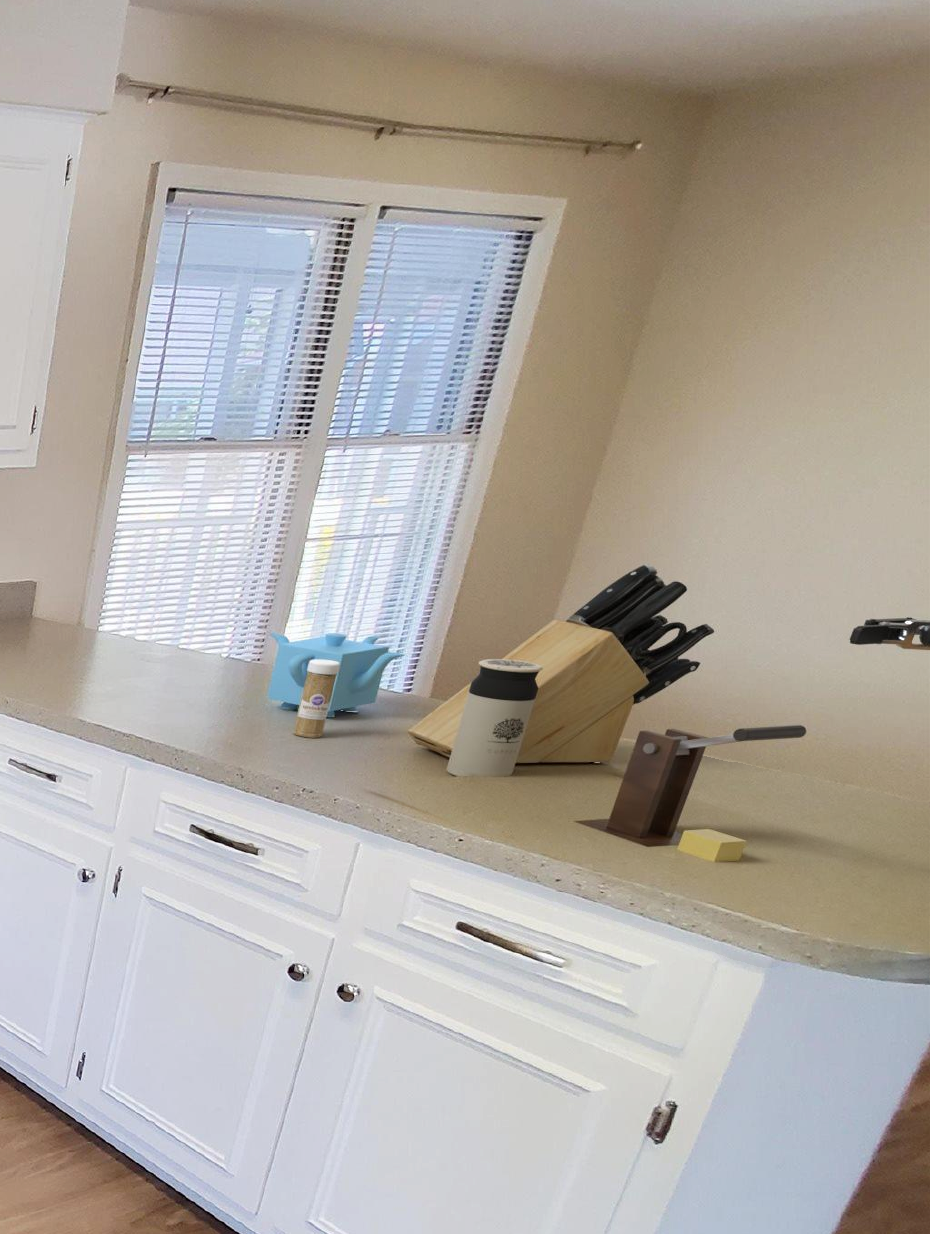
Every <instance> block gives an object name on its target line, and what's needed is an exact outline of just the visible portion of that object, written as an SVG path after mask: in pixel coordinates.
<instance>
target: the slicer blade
mask: <svg viewBox="0 0 930 1234" xmlns="http://www.w3.org/2000/svg"><path fill="white" fill-rule="evenodd" d="M806 734H807V729H806V727H805V726H803V725H802V724H793V725H792V724H791V725H776V726H760V727H757V726H756V727H741V728H737V729H735V730H734V731H733V733H730V734H723V735H717V736H710V737H709V738H702V739H695V740H688V738H687V736H682V737H674V738H678V739H681V742H680V744H679V747H678V750H677V753H676V756H681V755H689V754H690V753H689V749H691V748H698V747H705V746H706V747H711V746H717V745H718V746H719V745H727V744H733V743H740V742H753V741H768V740H769V741H771V740H786V739H787V740H788V739H801V738H803V737H804V736H806Z"/></svg>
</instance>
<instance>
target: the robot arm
mask: <svg viewBox="0 0 930 1234" xmlns="http://www.w3.org/2000/svg"><path fill="white" fill-rule="evenodd" d="M915 636H919V642H920V643H913V639H914V637H915ZM849 643H850V644H851V645H856V646H857V645H858V646H860V645H862V646H863V645H882V644H883V645H884V644H885V645H895V646H897V647H898V648H901V649H903V650H917V651H919V650H920V651H930V619H916V618H913V617H909V616H908V617H898V618H878V619H877V618H870V619H865V621H864V623H863V625H857V626H856V627H854V628H853V630H852V632H851V635H850V638H849Z"/></svg>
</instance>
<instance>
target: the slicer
mask: <svg viewBox="0 0 930 1234" xmlns="http://www.w3.org/2000/svg"><path fill="white" fill-rule="evenodd" d="M682 736H687V738H688V740H695V739H702V738H709V737H708V736H705V735H701V734H696V733H693V732H689V731H684V730H680V729H675V728H667V729H666V730H665V733H664V734H662V733H658V732H654V731H650V730H639V732H638V735H637V738H636V741H635V744H634V746H633V749H632V752H631V755H630V758H629V761H628V764H627V767H626V770H625V773H624V775H623V778H622V780H621V783H620V786H619V789H618V793H617V795H616V798H615V801H614V804H613V807H612V810H611V813H610V816H609V818H601V819H585V820H584V819H583V820H573V822H574V823H577V824H579V825H583V826H585V827H588V828H591V829H594V830H597V831H599V832H603V833H606V834H607V835H608V834H609V835H612V836H614V837H617V838H620V839H623V840H626V841H629V842H631V843H635V844H636V845H639V846H643V847H645V848H651V847H652V848H654V847H668V846H679V843H680V840H681V838H682V835H683V833H681V832H678V831H676V829H677V827H678V824H679V821H680V818H681V815H682V813H683V811H684V808H685V804H686V802H687V799H688V798H689V797H688V796H689V793H690V791H691V788H692V786H693V784H694V780H695V778H696V775H697V773H698V769H699V768H700V767H699V766H700V764H701V762H702V759H703V756H704V753H705V751H706V749H707V746H705V747H698V748H691V749H689V753H690V754H689V755H681V756H676V753H677V750H678V747H679V744H680V742H681V739H678V738H674V737H682Z"/></svg>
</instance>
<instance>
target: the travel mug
mask: <svg viewBox="0 0 930 1234" xmlns="http://www.w3.org/2000/svg"><path fill="white" fill-rule="evenodd" d="M478 665H479V674H478V675H477V676H476V677H475V678H474V679H473V680H471V682H470V683H471V686H470V689H469V693H468V696H467V700H466V703H465V707H464V710H463V714H462V717H461V721H460V724H459V728H458V731H457V735H456V738H455V742H454V745H453V749H452V752H451V756H450V758H448V759H449V760H448V763H447V767H446V772H448V773H449V774H450V775H452V776H453V777H470V776H484V777H493V778H494V777H498V778H499V777H500V778H501V777H510V776H511V775H512V774H513V772H514V769H515V766H516V764H517V763H516V760H517V756H518V753H519V750H520V747H521V743H522V740H523V737H524V734H525V730H526V727H527V724H528V721H529V717H530V714H531V711H532V708H533V704H534V701H535V698H536V695H537V691H538V686H537V683H536V680H535V678H536V676H537V674H538V673H539V671H541V670H542V666H540V665H538V664H534V663H530V662H524V661H516V660H504V659H503V658H491V659H490V658H489V659H482V660H479V662H478Z"/></svg>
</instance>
